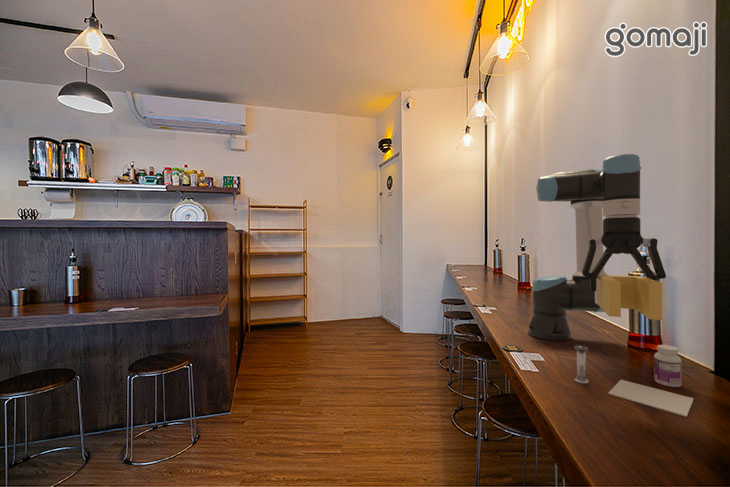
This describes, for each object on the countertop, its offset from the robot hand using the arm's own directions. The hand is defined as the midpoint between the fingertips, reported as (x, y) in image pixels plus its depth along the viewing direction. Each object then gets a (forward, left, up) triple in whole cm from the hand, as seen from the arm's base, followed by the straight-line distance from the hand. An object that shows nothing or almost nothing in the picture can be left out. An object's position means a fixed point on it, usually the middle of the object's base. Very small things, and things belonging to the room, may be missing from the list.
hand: (621, 305), depth 84 cm
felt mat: (0, +6, -22) cm, 22 cm away
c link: (+5, +2, -1) cm, 6 cm away
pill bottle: (-13, +7, -22) cm, 26 cm away
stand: (+3, -8, -22) cm, 23 cm away
